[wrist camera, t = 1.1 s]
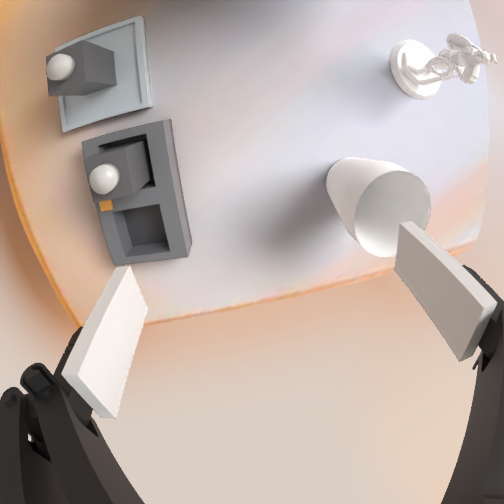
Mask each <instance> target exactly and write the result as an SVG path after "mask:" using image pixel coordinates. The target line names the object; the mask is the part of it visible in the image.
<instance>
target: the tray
mask: <svg viewBox="0 0 504 504" xmlns="http://www.w3.org/2000/svg"><path fill="white" fill-rule="evenodd" d="M81 40H85V41H88V42H90V43H93V44H96V45H98V46H101V47H104V48H106V49H109V50H111V51H114V62H115V73H116V82H117V85H115V86H112V87H108V88H105V89H102V90H99V91H96V92H93V93H91V94H88V95H85V96H58V101H59V110H60V117H61V124H62V130H63V132H67V131H71V130H73V129H76V128H79V127H82V126H85V125H88V124H91V123H94V122H97V121H101V120H104V119H107V118H111V117H114V116H118V115H121V114H125V113H129V112H133V111H137V110H141V109H145V108H149V107H152V99H151V91H150V83H149V74H148V64H147V54H146V42H145V28H144V18H142V17H141V16H137V17H134V18H130V19H127V20H124V21H121V22H118V23H115V24H112V25H109V26H106V27H103V28H101V29H98V30H96V31H93V32H90V33H88V34H86V35H83V36H81V37H78V38H76V39H74V40H72V41H69V42H67V43H65V44H63V45H61V46H59V47H57V48H55V52H57V51H59V50H61V49H63V48H65V47H67V46H70V45H72V44H74V43H76V42H79V41H81Z"/></svg>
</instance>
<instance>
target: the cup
mask: <svg viewBox="0 0 504 504" xmlns="http://www.w3.org/2000/svg"><path fill="white" fill-rule="evenodd" d="M326 189H327V192H328V195H329V197H330V198H331V200H332V202H333V204H334V206H335V208H336V210H337V212H338V214H339V216H340V218H341V220H342V222H343V224H344V226H345V228H346V230H347V231H348V233H349V234H350V235H351V236H352V237H353V238H354V239H355V240H356V241H357V242H358V243H359V244H360V245H361V246H362V247H363V248H364V249H365V250H366V251H368V252H369V253H371V254H373V255H376V256H380V257H391V256H395V255H396V253H397V244H398V234H399V223H402V222H409V221H413V222H414V223H415V224H416V225H417V226H418V227H420V228H421V229H422V230H423V231H425V229H426V226H427V224H428V221H429V217H430V208H431V205H430V197H429V193H428V191H427V188H426V186H425V185H424V183H423V182H422V181H421V180H420V179H419V178H418V177H417V176H415V175H414V174H412V173H411V172H409V171H407V170H406V169H404V168H402V167H401V166H399V165H397V164H394V163H391V162H386V161H379V160H372V159H364V158H355V157H347V158H343V159H341V160H339V161H337V162H336V163H335V164H334V165H333V166H332V167H331V169H330V170H329V172H328V175H327V178H326Z"/></svg>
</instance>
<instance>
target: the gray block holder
mask: <svg viewBox="0 0 504 504" xmlns="http://www.w3.org/2000/svg"><path fill="white" fill-rule="evenodd" d="M82 148H83V153H84V158H85V159H84V163H85V167H86V172H87V176H88V181H89V185H90V189H91V193H92V197H93V201H94V203H95V205H96V208H97V212H98V216H99V219H100V223H101V226H102V229H103V233H104V236H105V239H106V242H107V245H108V249H109V252H110V255H111V258H112V261H113V263H114V266H116V265H125V264H133V263H142V262H150V261H159V260H168V259H176V258H185V257H188V256H189V252H190V249H191V245H192V239H191V234H190V229H189V224H188V219H187V213H186V208H185V203H184V197H183V192H182V186H181V180H180V175H179V169H178V163H177V156H176V150H175V144H174V137H173V130H172V123H171V119H170V120H164V121H159V122H154V123H149V124H145V125H141V126H136V127H132V128H128V129H124V130H120V131H117V132H113V133H109V134H106V135H102V136H99V137H96V138H92V139H89V140H86V141H83V142H82Z"/></svg>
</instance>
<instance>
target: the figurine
mask: <svg viewBox="0 0 504 504" xmlns="http://www.w3.org/2000/svg"><path fill="white" fill-rule="evenodd" d="M447 45H448V47H449V49H450V50H451V51H450V50H446V49H444V50H442V51H441V52H440V53H439V54H438V55H437V57H435V55H434V54H433V53H432V52H431V51H430V50H429V49H428V48H427V47H426V46H424V45H423V44H421V43H420V42H417V41H415V40H403V41H400V42H399V43H397V44H396V45H395V46H394V48H393V50H392V52H391V56H390V65H391V70H392V74H393V76H394V78H395V81H396V82H397V84H398V85H399V87H400V88H401V89H402V90H403V91H404V92H405V93H406V94H408V95H409V96H411V97H413V98H416V99H422V100H423V99H428V98H430V97H432V96H433V95H434V94H435V93H436V92H437V90H438V88H439V86H440V84H441V81H443V80H447V79H450V78H454V77H459V78H460V80H461V81H463V82H464V83H469V84H472V83H474V82H476V78H478V76H479V66H480V65H481V64H485V65H488V63H490V62H491V61H492V62H494V63H497V61H496V56H495V54H494V53H492V54H489V53H487V52H485V50H481V49H480V48H479V47H477V46H476V45H473V44H472V42H471V41H470V40H469V39H468V38H466V37H465V36H463V35H461V34H458V33H452V34H449V35H448V37H447ZM463 67H465V70H464V72H463ZM441 69H448V70H447V72H445V73H443V74H442V73H441ZM454 69H455V72H453V70H454ZM462 72H463V74H462Z"/></svg>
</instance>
